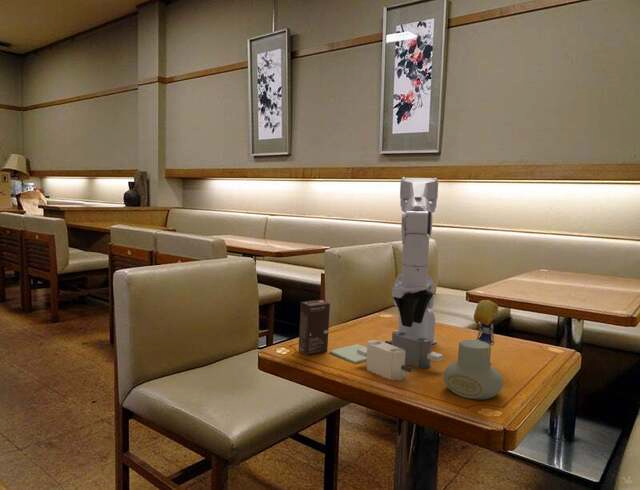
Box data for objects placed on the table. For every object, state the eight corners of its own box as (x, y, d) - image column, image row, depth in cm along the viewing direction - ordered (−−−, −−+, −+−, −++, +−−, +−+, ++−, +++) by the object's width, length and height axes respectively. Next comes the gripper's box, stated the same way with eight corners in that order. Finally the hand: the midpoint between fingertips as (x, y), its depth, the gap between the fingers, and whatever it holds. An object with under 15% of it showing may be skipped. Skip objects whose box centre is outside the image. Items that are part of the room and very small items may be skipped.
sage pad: (357, 345, 120) (357, 343, 120) (383, 356, 113) (383, 353, 113) (329, 352, 115) (329, 350, 115) (355, 363, 108) (355, 361, 108)
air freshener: (436, 392, 93) (438, 342, 92) (454, 380, 100) (456, 333, 99) (492, 409, 86) (495, 356, 85) (507, 395, 93) (511, 345, 92)
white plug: (415, 382, 98) (416, 354, 97) (403, 386, 96) (404, 357, 95) (365, 362, 109) (366, 336, 108) (354, 365, 107) (355, 339, 106)
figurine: (498, 365, 109) (502, 300, 107) (483, 370, 106) (487, 303, 104) (481, 359, 113) (485, 296, 111) (466, 363, 110) (470, 299, 108)
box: (308, 356, 112) (309, 305, 111) (298, 350, 116) (299, 301, 114) (329, 352, 115) (330, 302, 114) (319, 346, 119) (320, 299, 118)
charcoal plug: (380, 356, 113) (381, 331, 112) (389, 353, 116) (391, 328, 115) (435, 373, 103) (436, 346, 102) (443, 369, 106) (445, 342, 105)
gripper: (415, 259, 115) (413, 315, 117) (381, 265, 104) (378, 326, 106) (442, 263, 110) (439, 321, 112) (409, 269, 100) (406, 333, 101)
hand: (411, 324), depth 109 cm, fingers open, 4 cm apart
